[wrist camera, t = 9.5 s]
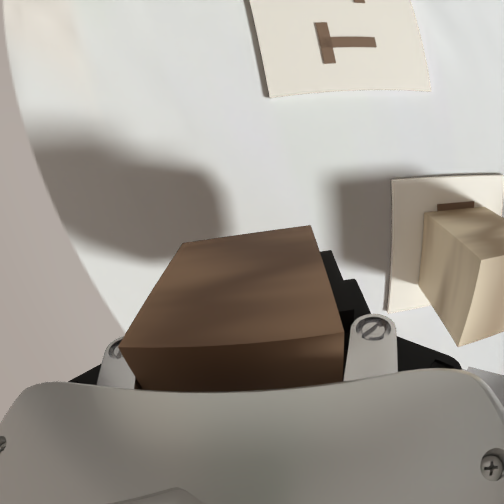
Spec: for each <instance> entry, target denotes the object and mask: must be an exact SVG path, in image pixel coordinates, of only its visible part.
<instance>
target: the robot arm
mask: <svg viewBox="0 0 504 504" xmlns="http://www.w3.org/2000/svg"><path fill="white" fill-rule="evenodd" d="M320 254H321V257H322V260H323V264H324V267H325V270H326V273H327V276H328V279H329V282H330V286H331V289H332V292H333V295H334V299H335V302H336V305H337V309H338V312H339V315H340V319H341V322H342V326H343V329H344V357H343V377H342V382H335V383H328V384H321V385H312V386H304V387H294V388H283V389H270V390H254V391H230V392H180V391H155V390H143V388H142V387H141V385H140V384H139V382H138V381H137V379H136V377H135V376H134V374H133V372H132V371H131V369H130V367H129V366H128V364H127V362H126V361H125V359H124V357H123V355H122V354H121V352H120V350H119V348H118V346H119V344H120V343H121V341H122V339H123V337H124V336H123V337H120V338H118V339H116V340H114V341H113V342H111V343H110V344H109V345H108V347H107V348H106V350H105V353H104V357H103V361H102V364H100V365H98V366H96V367H94V368H93V369H91V370H89V371H87V372H85V373H83V374H82V375H80V376H78V377H76V378H74V379H72V380H70V381H68V382H45V383H41V384H36V385H33V386H31V387H28V388H26V389H25V390H24V391H23V392H22V393H21V394H20V395H19V396H18V398H17V399H16V400H15V401H14V403H13V404H12V406H11V407H10V408H9V410H8V412H7V413H6V415H5V416H4V418H3V420H2V421H1V423H0V504H504V375H500V374H496V373H492V372H488V371H484V370H480V369H476V368H472V367H468V369H467V370H464V369H462V368H461V366H460V364H459V362H458V361H456V360H455V359H454V358H452V357H451V356H449V355H446V354H443V353H440V352H438V351H435V350H432V349H429V348H427V347H424V346H421V345H419V344H416V343H413V342H411V341H408V340H405V339H403V338H400V337H397V336H396V327H395V324H394V322H393V321H392V320H391V319H389V318H388V317H386V316H383V315H380V314H371V313H370V310H369V308H368V306H367V303H366V301H365V299H364V297H363V294H362V292H361V290H360V288H359V286H358V283H357V281H356V280H355V279H349V280H343V278H342V276H341V273H340V271H339V268H338V266H337V263H336V261H335V258H334V256H333V254H332V251H331V250H329V251H322V252H320Z"/></svg>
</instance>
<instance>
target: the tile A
mask: <svg viewBox="0 0 504 504" xmlns="http://www.w3.org/2000/svg"><path fill="white" fill-rule="evenodd" d="M250 5H251V9H252V13H253V18H254V22H255V27H256V31H257V36H258V41H259V46H260V50H261V55H262V60H263V65H264V70H265V75H266V80H267V86H268V91H269V96H270V98H275V97H283V96H291V95H299V94H309V93H321V92H334V91H355V90H407V91H426V92H431V85H430V79H429V73H428V67H427V62H426V57H425V52H424V48H423V43H422V39H421V35H420V31H419V27H418V24H417V20H416V16H415V13H414V10H413V7H412V3H411V0H250Z"/></svg>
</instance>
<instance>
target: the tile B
mask: <svg viewBox="0 0 504 504" xmlns="http://www.w3.org/2000/svg"><path fill="white" fill-rule="evenodd" d="M391 188H392V246H391V268H390V283H389V295H388V305H387V313H388V314H390V313H396V312H401V311H406V310H411V309H416V308H421V307H426V306H431V304H430V302H429V301H428V299H427V298H426V296H425V295H424V293H423V292H422V291H421V289H420V288H419V286H418V282H419V274H420V265H421V255H422V243H423V228H424V213H425V212H434V211H444V210H454V209H464V208H475V207H486V208H488V209H489V210H491V211H493V212H494V213H496V214H498V215H499V216H502V206H503V195H504V175H460V176H438V177H420V178H405V179H392V180H391Z"/></svg>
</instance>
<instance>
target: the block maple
mask: <svg viewBox="0 0 504 504" xmlns="http://www.w3.org/2000/svg"><path fill="white" fill-rule="evenodd" d="M418 286H419V288H420V289H421V291H422V292H423V293H424V295H425V296H426V298H427V299H428V301H429V302H430V304H431V305H432V307H433V308H434V310H435V311H436V313H437V314H438V316H439V317H440V319H441V321H442V322H443V324H444V325H445V327H446V329H447V330H448V332H449V333H450V335H451V337H452V338H453V340H454V342H455V343H456V345H457V347H460V346H463V345H466V344H469V343H472V342H475V341H478V340H481V339H484V338H487V337H490V336H493V335H495V334H498V333H501V332H503V331H504V218H502V217H501V216H499V215H498V214H496V213H494V212H493V211H491V210H489V209H488V208H486V207H475V208H464V209H454V210H444V211H434V212H425V213H424V228H423V243H422V255H421V265H420V274H419V282H418Z"/></svg>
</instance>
